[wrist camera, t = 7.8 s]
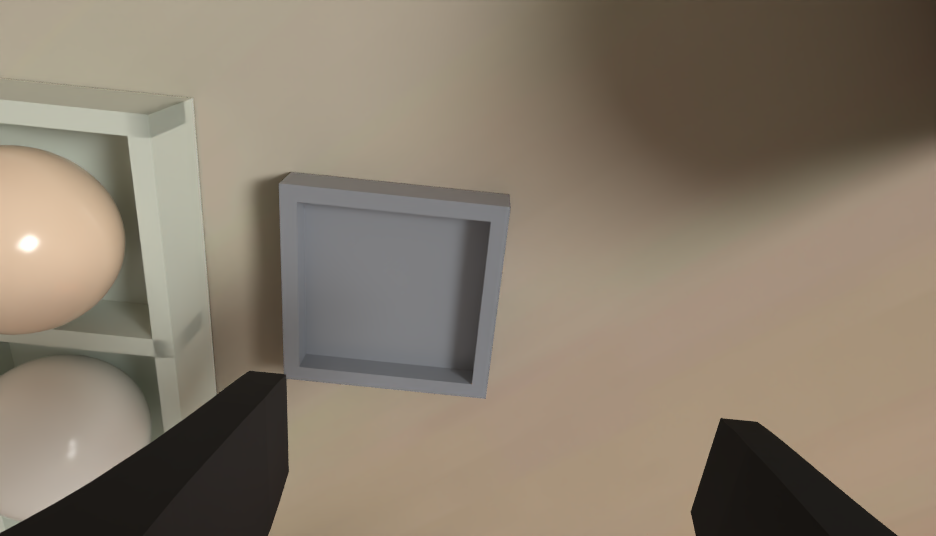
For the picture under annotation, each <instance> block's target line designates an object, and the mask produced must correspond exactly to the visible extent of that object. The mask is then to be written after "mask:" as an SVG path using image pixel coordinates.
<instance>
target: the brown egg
mask: <svg viewBox="0 0 936 536" xmlns="http://www.w3.org/2000/svg"><path fill="white" fill-rule="evenodd" d="M124 254H125V230H124V225H123V221H122V218H121V215H120V213H119V210H118V208H117V206H116V204H115V202H114V200H113V199H112V197H111V196H110V194H109V193H108V191H107V190H106V189H105V188H104V186H103V185H102V184H101V183H100V182H99V181H98V180H97V179H96V178H95V177H93V176H92V175H91V174H90V173H89V172H87V171H86V170H85V169H83V168H82V167H80V166H79V165H77V164H76V163H74V162H72V161H70V160H68V159H67V158H64V157H62V156H59V155H57V154H54V153H52V152H49V151H45V150H42V149H38V148H32V147H26V146H19V145H0V334H3V335H19V334H31V333H37V332H42V331H46V330H50V329H53V328H56V327H59V326H62V325H64V324H66V323H69V322H71V321H73V320H75V319H76V318H78V317H80V316H82V315H83V314H85V313H86V312H87V311H89V310H90V309H91V308H93V307H94V306H95V305H96V304H97V303H98V302H99V301H100V300H101V299H102V298H103V297H104V296H105V295H106V294H107V293H108V291H109V290H110V288H111V287H112V285H113V284H114V282H115V280H116V279H117V276H118V274H119V272H120V269H121V266H122V263H123V259H124Z"/></svg>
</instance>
